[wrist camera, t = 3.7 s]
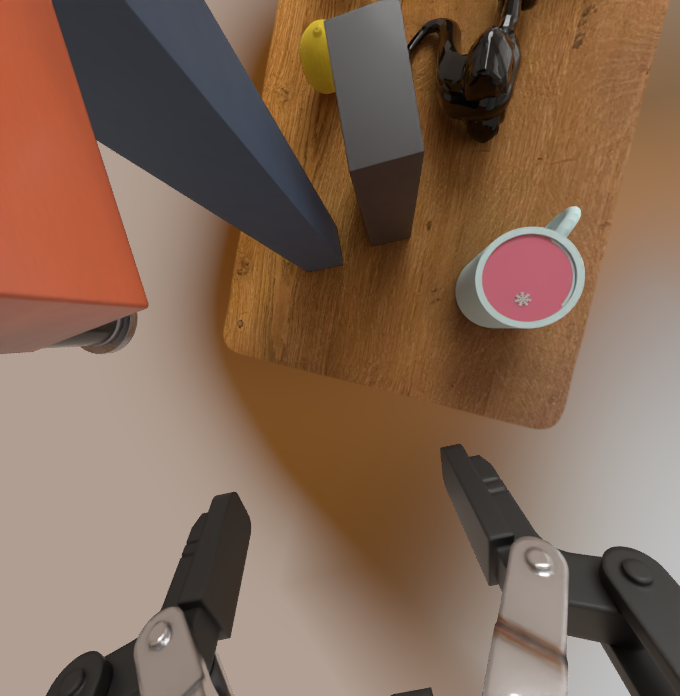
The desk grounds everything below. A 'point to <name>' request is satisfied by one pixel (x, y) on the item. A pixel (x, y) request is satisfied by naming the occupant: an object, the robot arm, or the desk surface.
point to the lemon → (317, 58)
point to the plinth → (378, 115)
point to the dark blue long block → (194, 119)
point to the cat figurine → (478, 69)
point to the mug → (524, 277)
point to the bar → (53, 195)
